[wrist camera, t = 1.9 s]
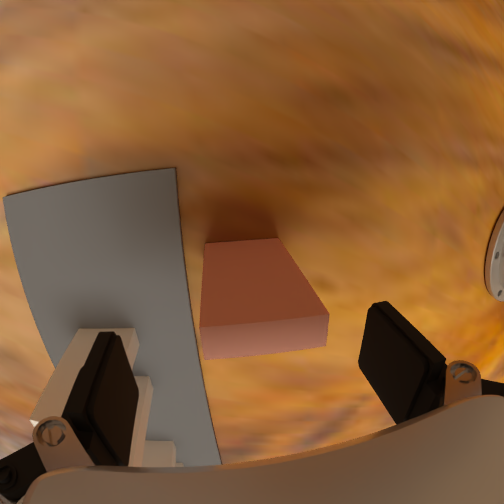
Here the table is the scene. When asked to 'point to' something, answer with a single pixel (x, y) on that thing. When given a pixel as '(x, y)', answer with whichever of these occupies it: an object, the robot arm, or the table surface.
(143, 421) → the domino
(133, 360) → the domino
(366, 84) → the table surface
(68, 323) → the domino mat
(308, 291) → the domino
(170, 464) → the domino
